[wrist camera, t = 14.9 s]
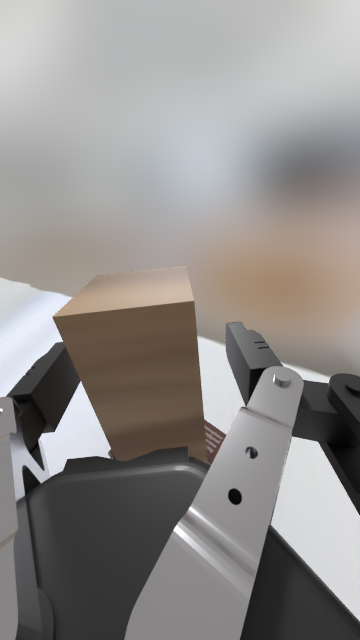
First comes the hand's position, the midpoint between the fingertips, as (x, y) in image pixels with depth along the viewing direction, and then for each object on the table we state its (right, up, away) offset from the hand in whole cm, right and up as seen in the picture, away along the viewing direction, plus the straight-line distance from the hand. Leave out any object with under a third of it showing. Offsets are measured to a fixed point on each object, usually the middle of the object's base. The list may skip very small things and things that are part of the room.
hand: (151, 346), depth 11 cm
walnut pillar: (+1, -7, +3) cm, 7 cm away
